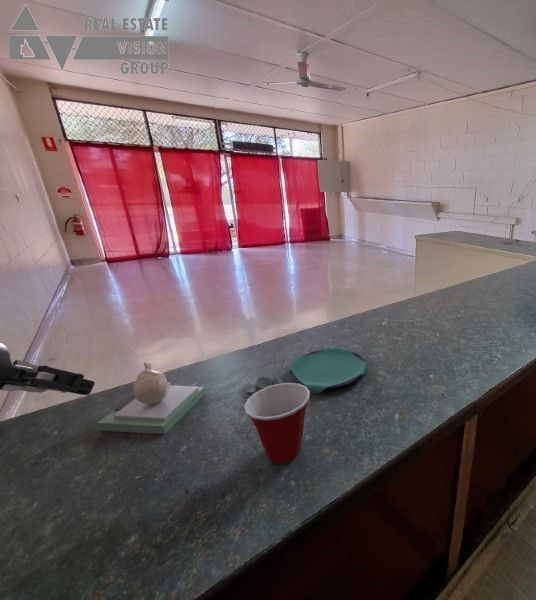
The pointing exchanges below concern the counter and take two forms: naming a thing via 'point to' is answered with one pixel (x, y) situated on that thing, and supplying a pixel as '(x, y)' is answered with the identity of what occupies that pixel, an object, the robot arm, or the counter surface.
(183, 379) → the counter surface
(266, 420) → the plastic cup
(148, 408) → the scale
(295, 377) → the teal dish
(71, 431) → the counter surface
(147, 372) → the garlic bulb
